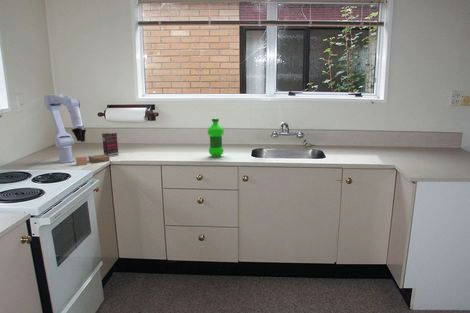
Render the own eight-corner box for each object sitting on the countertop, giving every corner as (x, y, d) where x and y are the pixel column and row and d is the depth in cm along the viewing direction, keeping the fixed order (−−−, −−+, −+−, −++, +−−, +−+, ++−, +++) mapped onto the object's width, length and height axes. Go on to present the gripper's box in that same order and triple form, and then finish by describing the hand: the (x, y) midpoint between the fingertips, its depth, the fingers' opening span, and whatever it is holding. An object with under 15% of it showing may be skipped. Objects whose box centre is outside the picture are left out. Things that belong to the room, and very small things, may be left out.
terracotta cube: (76, 164, 239) (75, 156, 238) (84, 163, 242) (84, 155, 241) (78, 165, 235) (78, 157, 234) (87, 164, 238) (86, 156, 237)
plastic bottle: (206, 157, 254) (204, 119, 249) (212, 154, 264) (211, 117, 259) (220, 158, 251) (219, 119, 246) (226, 155, 260) (225, 118, 256)
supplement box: (115, 154, 270) (113, 132, 267) (118, 155, 267) (116, 132, 264) (103, 156, 264) (101, 133, 261) (106, 157, 261) (104, 133, 258)
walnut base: (88, 160, 250) (88, 156, 249) (104, 158, 256) (104, 154, 255) (93, 163, 242) (93, 158, 241) (109, 161, 248) (109, 156, 247)
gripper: (79, 116, 224) (85, 139, 224) (86, 119, 239) (91, 140, 239) (67, 118, 223) (72, 141, 223) (74, 121, 238) (79, 143, 238)
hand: (81, 141), depth 231 cm, fingers open, 7 cm apart
